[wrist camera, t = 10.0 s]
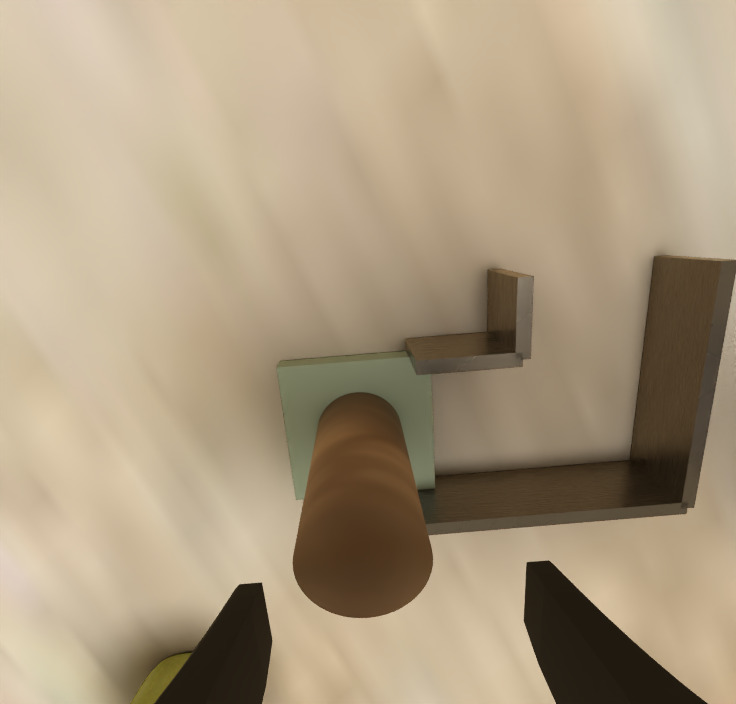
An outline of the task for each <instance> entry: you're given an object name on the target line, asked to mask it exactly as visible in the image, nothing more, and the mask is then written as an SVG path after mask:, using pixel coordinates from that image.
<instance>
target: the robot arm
mask: <svg viewBox="0 0 736 704" xmlns="http://www.w3.org/2000/svg"><path fill="white" fill-rule="evenodd" d="M524 623H525V626H526V629H527V632H528V635H529V638H530V641H531V644H532V646H533V649H534V652H535V655H536V658H537V661H538V664H539V666H540V668H541V671H542V673H543V675H544V677H545V680H546V682H547V684H548V686H549V689H550V691H551V693H552V695H553V697H554V700H555V702H556V704H707V703H706V702H705V701H704V700H702V699H701V698H700V697H698V696H697V695H696V694H695V693H693V692H692V691H691V690H689V689H688V688H687V687H686V686H685V685H683V684H682V683H681V682H680V681H678V680H677V679H676V678H675V677H674V676H672V675H671V674H670V673H669V672H668V671H666V670H665V669H664V668H663V667H662V666H661V665H660V664H658V663H657V662H656V661H655V660H654V659H653V658H651V657H650V656H649V655H648V654H647V653H646V652H644V651H643V650H642V649H641V648H640V647H639V646H638V645H637V644H636V643H634V642H633V641H632V640H631V639H630V638H629V637H628V636H627V635H626V634H625V633H623V632H622V631H621V630H620V629H619V628H618V627H617V626H616V625H615V624H614V623H613V622H612V621H611V620H609V619H608V618H607V617H606V616H605V615H604V614H603V613H602V612H601V611H600V610H599V609H598V608H597V607H596V606H595V605H594V604H593V603H592V602H591V601H590V600H589V599H588V598H587V597H586V596H585V595H584V594H583V593H582V592H580V591H579V590H578V589H577V588H576V587H575V586H574V585H573V584H572V583H571V582H570V581H569V580H568V579H567V578H566V577H565V576H564V575H563V574H562V573H561V572H560V571H559V570H558V569H557V568H556V567H555V566H554V565H553V564H552V563H551V562H550V561H537V562H527V566H526V587H525V608H524ZM271 646H272V635H271V630H270V625H269V619H268V614H267V608H266V603H265V597H264V592H263V586H262V583H251V584H239V585H238V587H237V588H236V589H235V590H234V592H233V593H232V595H231V597H230V598H229V600H228V601H227V603H226V604H225V606H224V607H223V609H222V610H221V612H220V613H219V615H218V616H217V618H216V619H215V621H214V622H213V624H212V625H211V627H210V628H209V629H208V631H207V632H206V634H205V635H204V637H203V638H202V640H201V641H200V642H199V644H198V645H197V647H196V648H195V649H194V651H193V652H192V654H191V655H190V656H189V658H188V659H187V661H186V662H185V663H184V665H183V666H182V667H181V669H180V670H179V672H178V673H177V674H176V675H175V677H174V678H173V679H172V681H171V682H170V683H169V685H168V686H167V687H166V688H165V690H164V691H163V692H162V694H161V695H160V696H159V697H158V699H157V700H156V701H155V703H154V704H262V700H263V696H264V692H265V687H266V681H267V675H268V668H269V661H270V654H271Z"/></svg>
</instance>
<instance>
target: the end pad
mask: <svg viewBox="0 0 736 704" xmlns="http://www.w3.org/2000/svg"><path fill="white" fill-rule="evenodd" d="M277 374H278V381H279V388H280V395H281V401H282V408H283V415H284V422H285V428H286V435H287V442H288V449H289V455H290V462H291V469H292V476H293V482H294V489H295V496H296V500H300V499H304V497H305V491H306V486H307V481H308V475H309V470H310V465H311V460H312V454H313V449H314V444H315V438H316V433H317V428H318V423H319V419H320V417H321V415H322V413H323V411H324V410H325V408H326V407H327V406H328V405H329V404H330V403H331V402H332V401H334V400H335V399H337V398H339V397H341V396H343V395H346V394H349V393H355V392H365V393H371V394H374V395H377V396H379V397H381V398H383V399H385V400H386V401H387V402H389V403H390V404H391V405H392V406H393V408H394V409H395V410H396V412H397V414H398V416H399V418H400V422H401V426H402V430H403V434H404V438H405V442H406V446H407V450H408V454H409V458H410V462H411V466H412V471H413V475H414V479H415V483H416V487H417V490H421V489H433V488H435V469H434V440H433V411H432V382H431V374H427V375H416V373H415V371H414V368H413V366H412V364H411V361H410V359H409V357H408V354H407V352H406V351H398V352H386V353H373V354H361V355H349V356H336V357H324V358H312V359H300V360H287V361H280V363H279V364H278V366H277Z"/></svg>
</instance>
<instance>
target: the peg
mask: <svg viewBox="0 0 736 704" xmlns="http://www.w3.org/2000/svg"><path fill="white" fill-rule="evenodd" d="M432 566H433V554H432V548H431V544H430V540H429V536H428V532H427V528H426V524H425V520H424V516H423V512H422V507H421V503H420V499H419V495H418V491H417V487H416V483H415V479H414V475H413V471H412V466H411V462H410V458H409V454H408V450H407V446H406V442H405V438H404V434H403V430H402V426H401V422H400V418H399V416H398V414H397V412H396V410H395V409H394V408H393V406H392V405H391V404H390V403H389V402H387V401H386V400H385V399H383V398H381V397H379V396H377V395H374V394H371V393H365V392H355V393H349V394H346V395H343V396H341V397H339V398H337V399H335V400H334V401H332V402H331V403H330V404H329V405H328V406H327V407H326V408H325V410H324V411H323V413H322V415H321V417H320V419H319V423H318V428H317V433H316V438H315V444H314V449H313V454H312V460H311V465H310V470H309V475H308V481H307V486H306V491H305V497H304V502H303V507H302V513H301V518H300V523H299V528H298V534H297V539H296V544H295V550H294V555H293V571H294V575H295V578H296V581H297V583H298V585H299V587H300V588H301V590H302V591H303V593H304V594H305V595H306V596H307V597H308V598H309V599H310V600H311V601H312V602H313V603H315V604H316V605H318V606H319V607H321V608H323V609H325V610H326V611H329V612H331V613H334V614H337V615H341V616H346V617H353V618H369V617H376V616H381V615H385V614H388V613H391V612H394V611H396V610H398V609H400V608H402V607H403V606H405V605H406V604H408V603H409V602H411V601H412V600H413V599H414V598H415V597H416V596H417V595H418V594H419V593H420V592H421V591H422V589H423V588H424V587H425V585H426V583H427V581H428V580H429V577H430V574H431V571H432Z"/></svg>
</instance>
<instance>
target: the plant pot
mask: <svg viewBox="0 0 736 704" xmlns="http://www.w3.org/2000/svg"><path fill="white" fill-rule="evenodd" d="M191 654H192V653H184V654H179V655H175V656H171V657H169V658H167V659H165V660H163V661H162V662H160V663H159V664H158V665H157V666H156V667H155V668H154V669H153V670H152V671H151V673H150V674H149V675H148V676H147V678H146V679H145V681H144V682H143V684H142V686H141V687H140V689H139V690H138V692H137V694H136V695H135V697H134V698H133V700H132V702H131V703H130V704H154V703H155V701H156V700H157V699H158V697H159V696H160V695H161V694H162V692H163V691H164V690H165V688H166V687H167V686H168V685H169V683H170V682H171V681H172V679H173V678H174V677H175V675H176V674H177V673H178V672H179V670H180V669H181V667H182V666H183V665H184V663H185V662H186V661H187V659H188V658H189V656H190V655H191Z"/></svg>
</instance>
